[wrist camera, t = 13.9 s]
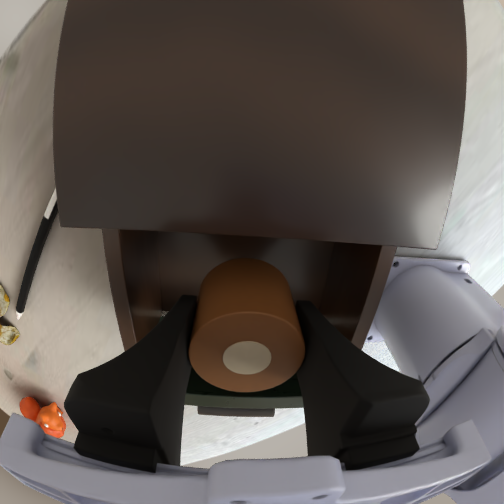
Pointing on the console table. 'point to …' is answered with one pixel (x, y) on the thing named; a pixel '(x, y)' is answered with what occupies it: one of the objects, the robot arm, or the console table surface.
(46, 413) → the orange chunky figure
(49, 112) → the console table surface
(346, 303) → the drawer
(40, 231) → the pen
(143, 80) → the cabinet
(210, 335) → the brown short cylinder
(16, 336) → the fruit
